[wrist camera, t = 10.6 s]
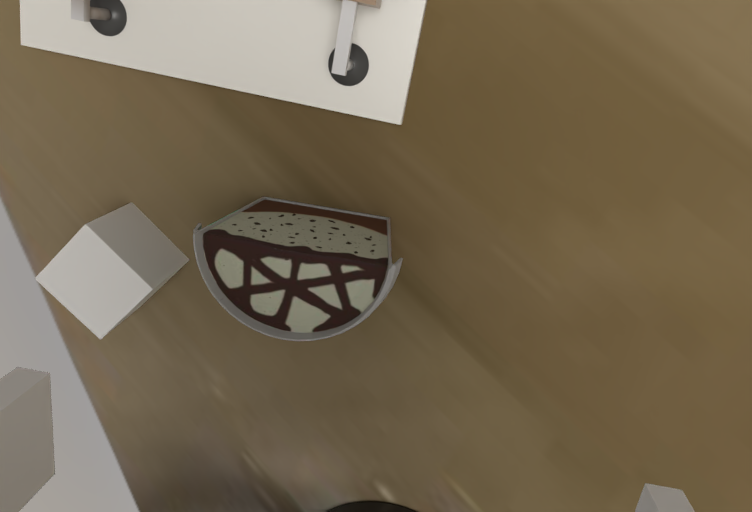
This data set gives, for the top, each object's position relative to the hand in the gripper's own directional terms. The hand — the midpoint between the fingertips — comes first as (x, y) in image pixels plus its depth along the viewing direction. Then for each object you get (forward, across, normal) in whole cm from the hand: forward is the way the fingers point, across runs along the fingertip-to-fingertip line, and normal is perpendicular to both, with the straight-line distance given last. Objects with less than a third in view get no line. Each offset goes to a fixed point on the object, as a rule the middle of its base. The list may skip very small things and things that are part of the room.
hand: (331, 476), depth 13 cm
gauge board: (+29, +14, -12) cm, 34 cm away
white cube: (+30, +20, +8) cm, 37 cm away
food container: (+30, +6, +5) cm, 30 cm away
